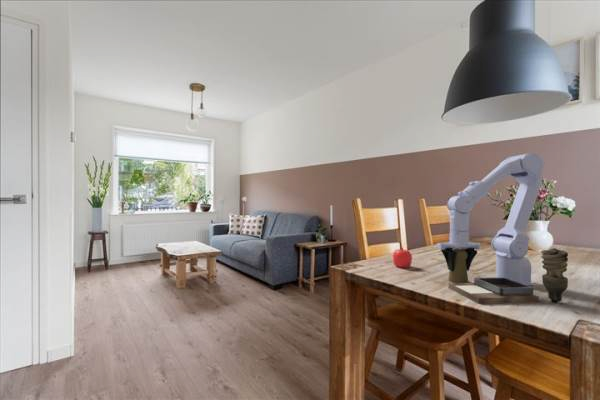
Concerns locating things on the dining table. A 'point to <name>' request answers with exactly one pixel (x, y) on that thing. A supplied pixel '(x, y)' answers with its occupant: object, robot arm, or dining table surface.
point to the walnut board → (492, 295)
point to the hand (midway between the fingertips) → (458, 270)
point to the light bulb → (555, 273)
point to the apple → (402, 258)
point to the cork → (459, 268)
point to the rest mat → (474, 289)
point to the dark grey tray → (513, 289)
